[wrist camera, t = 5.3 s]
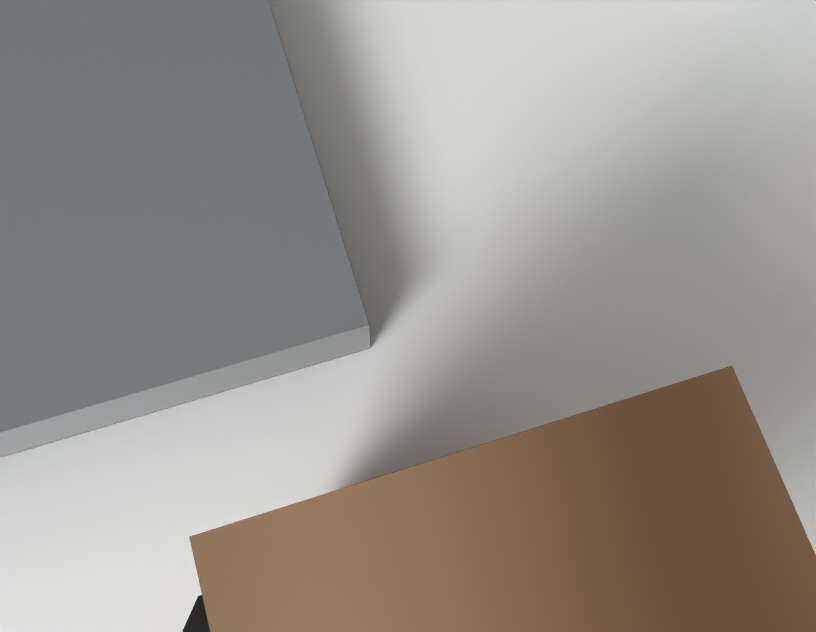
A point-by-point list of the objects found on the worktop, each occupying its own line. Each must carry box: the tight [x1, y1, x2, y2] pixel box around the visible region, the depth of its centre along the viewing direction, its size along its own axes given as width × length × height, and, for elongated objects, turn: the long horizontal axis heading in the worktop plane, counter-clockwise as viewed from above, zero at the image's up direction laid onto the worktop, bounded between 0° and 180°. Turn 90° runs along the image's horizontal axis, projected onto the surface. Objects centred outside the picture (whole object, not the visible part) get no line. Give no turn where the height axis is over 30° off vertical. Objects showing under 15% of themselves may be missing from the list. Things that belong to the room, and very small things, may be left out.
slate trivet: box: [0, 0, 370, 457], centre depth 17 cm, size 12×12×2 cm
